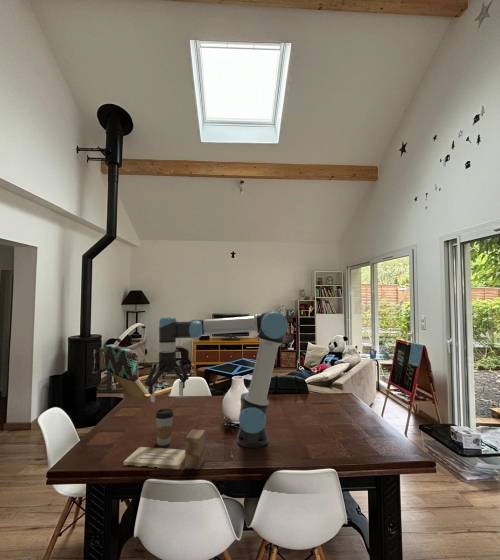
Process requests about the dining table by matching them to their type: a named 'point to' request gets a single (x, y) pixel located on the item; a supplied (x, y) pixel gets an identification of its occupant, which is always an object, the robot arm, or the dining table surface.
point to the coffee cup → (164, 426)
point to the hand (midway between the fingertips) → (167, 398)
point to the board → (157, 458)
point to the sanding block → (195, 449)
